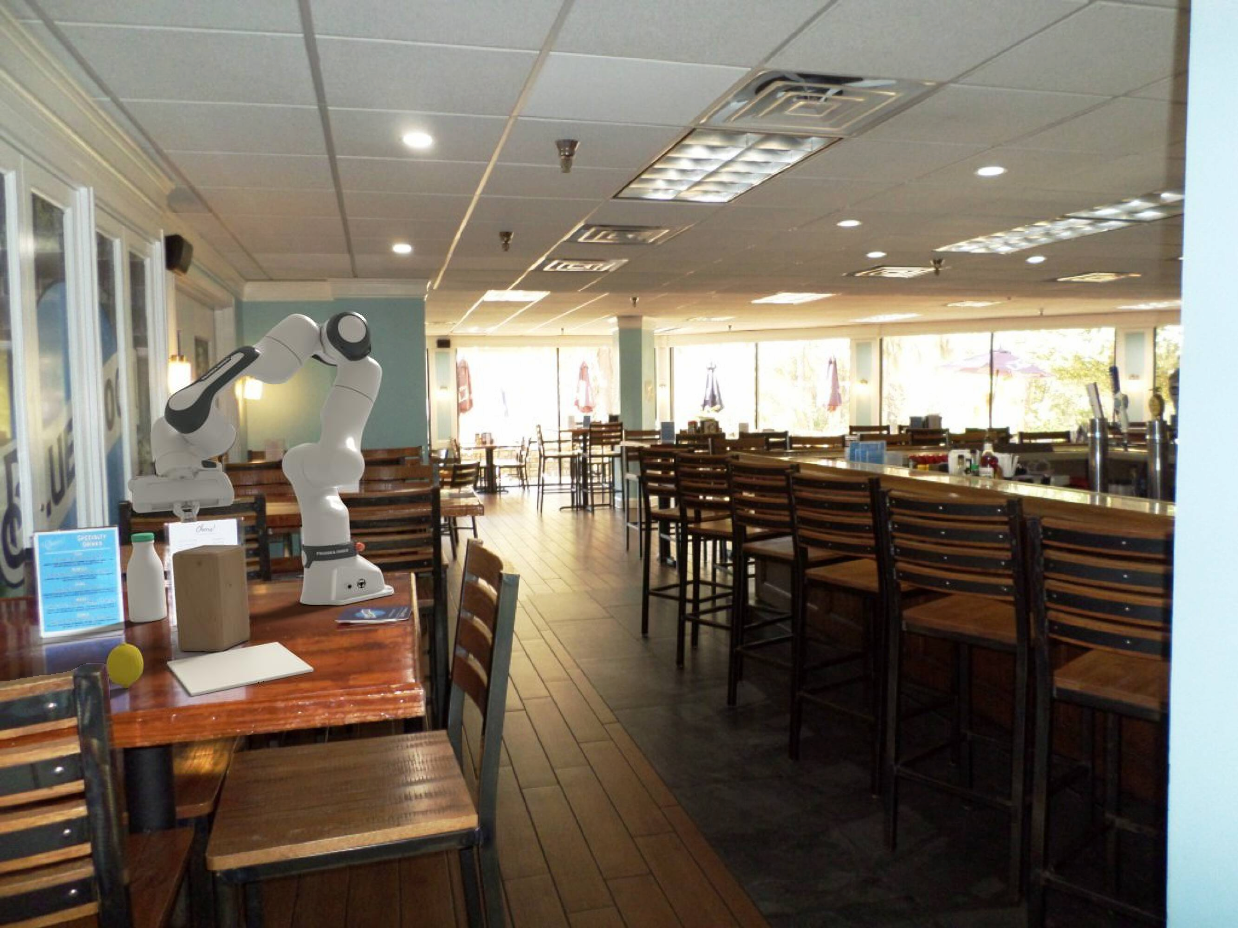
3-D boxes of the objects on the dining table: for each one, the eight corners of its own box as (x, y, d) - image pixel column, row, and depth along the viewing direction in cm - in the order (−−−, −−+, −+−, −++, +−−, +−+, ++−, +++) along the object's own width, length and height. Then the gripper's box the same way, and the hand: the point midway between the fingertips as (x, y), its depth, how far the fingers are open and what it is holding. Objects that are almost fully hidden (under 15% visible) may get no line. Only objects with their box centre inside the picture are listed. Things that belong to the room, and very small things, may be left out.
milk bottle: (168, 619, 201) (162, 533, 200) (130, 625, 197) (124, 537, 196) (165, 613, 208) (159, 530, 206) (128, 618, 204) (122, 533, 202)
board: (277, 644, 176) (277, 641, 176) (313, 671, 157) (313, 668, 157) (167, 664, 164) (167, 661, 164) (191, 696, 145) (191, 693, 145)
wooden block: (221, 653, 171) (214, 552, 169) (176, 652, 173) (169, 552, 171) (252, 639, 181) (246, 544, 179) (209, 638, 183) (203, 544, 181)
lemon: (151, 682, 153) (148, 637, 153) (132, 692, 148) (129, 646, 147) (121, 683, 154) (117, 638, 153) (101, 693, 148) (97, 647, 148)
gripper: (127, 467, 189) (135, 516, 181) (228, 462, 200) (240, 507, 193) (126, 486, 192) (134, 535, 185) (225, 480, 204) (237, 525, 197)
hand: (189, 520), depth 189 cm, fingers closed
